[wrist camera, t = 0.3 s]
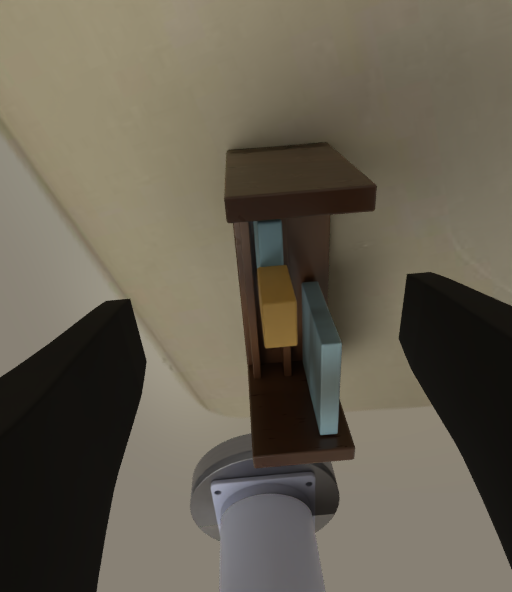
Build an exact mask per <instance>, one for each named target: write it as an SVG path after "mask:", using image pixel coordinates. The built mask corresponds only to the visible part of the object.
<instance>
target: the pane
mask: <svg viewBox="0 0 512 592" xmlns="http://www.w3.org/2000/svg"><path fill="white" fill-rule="evenodd" d="M253 226H254V239H255V252H256V265H257V270H256V279H257V287H258V296H259V304H260V313H261V321H262V330H263V338H264V345H265V348H276V347H287V346H296V345H297V344H298V335H297V301H296V297H295V293H294V290H293V286H292V283H291V279H290V275H289V272H288V268H287V265H284V262H283V236H282V221H281V219H274V220H262V221H253Z"/></svg>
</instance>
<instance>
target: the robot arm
mask: <svg viewBox="0 0 512 592" xmlns="http://www.w3.org/2000/svg"><path fill="white" fill-rule="evenodd" d="M399 340H400V343H401V345H402V348H403V351H404V353H405V356H406V358H407V360H408V363H409V365H410V367H411V370H412V371H413V373H414V375H415V377H416V378H417V380H418V382H419V383H420V385H421V387H422V389H423V390H424V392H425V394H426V395H427V397H428V399H429V400H430V402H431V404H432V405H433V407H434V409H435V410H436V412H437V414H438V415H439V417H440V418H441V420H442V422H443V423H444V425H445V427H446V428H447V430H448V432H449V433H450V435H451V437H452V438H453V440H454V442H455V443H456V445H457V447H458V449H459V451H460V453H461V455H462V456H463V459H464V461H465V463H466V465H467V467H468V469H469V471H470V474H471V475H472V478H473V480H474V482H475V484H476V486H477V489H478V491H479V493H480V495H481V497H482V499H483V502H484V504H485V506H486V509H487V511H488V513H489V516H490V518H491V520H492V523H493V525H494V527H495V530H496V532H497V534H498V536H499V539H500V541H501V544H502V546H503V549H504V551H505V554H506V556H507V559H508V561H509V563H510V566H511V569H512V306H510V305H508V304H506V303H503V302H501V301H499V300H496V299H494V298H492V297H490V296H487V295H485V294H483V293H481V292H478V291H476V290H474V289H472V288H469V287H467V286H465V285H463V284H460V283H458V282H456V281H453V280H451V279H449V278H446V277H444V276H441V275H438V274H435V273H432V272H426V273H415V274H407V279H406V286H405V294H404V302H403V309H402V317H401V325H400V332H399ZM145 369H146V358H145V354H144V350H143V346H142V343H141V339H140V335H139V331H138V327H137V323H136V320H135V316H134V312H133V308H132V305H131V301H130V299H122V300H112V301H106V302H104V303H102V304H101V305H99V306H98V307H96V308H95V309H94V310H92V311H91V312H90V313H88V314H87V315H86V316H84V317H83V318H82V319H81V320H79V321H78V322H77V323H75V324H74V325H73V326H72V327H70V328H69V329H68V330H66V331H65V332H64V333H62V334H61V335H60V336H58V337H57V338H56V339H55V340H53V341H52V342H51V343H49V344H48V345H46V346H45V347H44V348H42V349H41V350H39V351H38V352H37V353H35V354H34V355H32V356H31V357H29V358H28V359H27V360H25V361H24V362H23V363H21V364H20V365H18V366H17V367H15V368H14V369H12V370H11V371H9V372H8V373H6V374H5V375H3V376H2V377H0V592H96V591H97V583H98V577H99V571H100V565H101V559H102V553H103V546H104V540H105V535H106V529H107V524H108V519H109V513H110V508H111V502H112V497H113V492H114V487H115V484H116V480H117V476H118V472H119V469H120V465H121V462H122V459H123V456H124V452H125V449H126V446H127V442H128V439H129V436H130V432H131V429H132V426H133V423H134V419H135V415H136V412H137V409H138V405H139V402H140V398H141V395H142V389H143V382H144V376H145ZM211 493H212V498H213V503H214V508H215V513H216V518H217V523H218V528H219V533H220V579H219V592H325V586H324V580H323V575H322V570H321V564H320V558H319V552H318V547H317V541H316V535H315V475H314V473H313V472H299V473H288V474H278V475H267V476H256V477H245V478H234V479H223V480H215V481H213V482H212V483H211Z"/></svg>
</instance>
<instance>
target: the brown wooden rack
mask: <svg viewBox="0 0 512 592" xmlns="http://www.w3.org/2000/svg"><path fill="white" fill-rule="evenodd" d="M376 190H377V186H376V184H375V183H373V182H372V181H371V180H370V179H369V178H368V177H366V176H365V175H364V174H363V173H362V172H361V171H359V170H358V169H357V168H356V167H355V166H354V165H352V164H351V163H350V162H349V161H348V160H347V159H345V158H344V157H343V156H342V155H341V154H340V153H338V152H337V151H336V150H335V149H334V148H333V147H331V146H330V145H329V144H328V143H326V142H324V143H312V144H300V145H288V146H275V147H263V148H251V149H239V150H228V151H227V152H226V172H225V194H224V202H225V211H226V220H227V223H233V228H234V237H235V247H236V257H237V267H238V276H239V286H240V296H241V306H242V315H243V325H244V335H245V345H246V355H247V364H248V381H249V399H250V417H251V435H252V453H253V464H254V468H265V467H276V466H287V465H298V464H309V463H320V462H331V461H341V460H352V459H354V454H355V446H354V443H353V440H352V437H351V434H350V430H349V427H348V424H347V421H346V418H345V415H344V412H343V408H342V405H341V402H340V399H339V396H340V375H341V355H342V342H341V340H340V337H339V334H338V332H337V329H336V327H335V324H334V322H333V319H332V317H331V314H330V312H329V309H328V278H329V237H330V215H333V214H345V213H356V212H368V211H374V210H375V202H376ZM274 219H281V221H282V236H283V262H284V265H287V268H288V272H289V275H290V279H291V283H292V286H293V290H294V293H295V297H296V301H297V335H298V344H297V345H296V346H287V347H276V348H265V345H264V338H263V330H262V321H261V313H260V304H259V296H258V287H257V279H256V270H257V265H256V252H255V239H254V226H253V221H262V220H274Z"/></svg>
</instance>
